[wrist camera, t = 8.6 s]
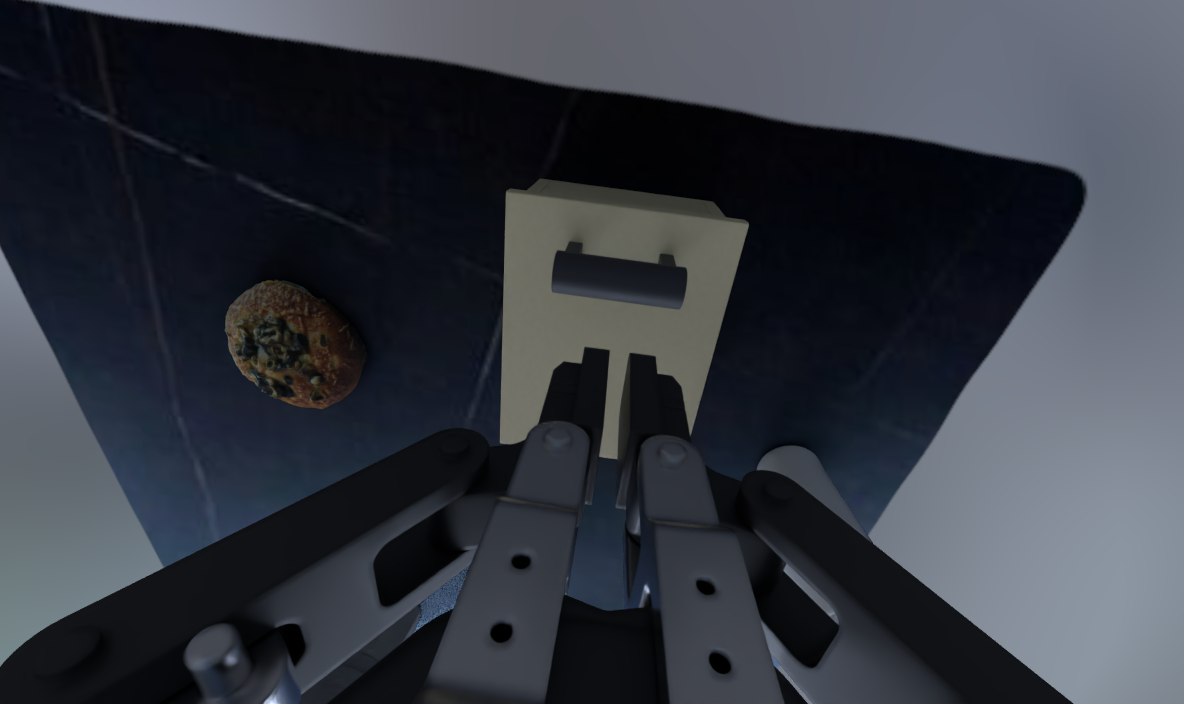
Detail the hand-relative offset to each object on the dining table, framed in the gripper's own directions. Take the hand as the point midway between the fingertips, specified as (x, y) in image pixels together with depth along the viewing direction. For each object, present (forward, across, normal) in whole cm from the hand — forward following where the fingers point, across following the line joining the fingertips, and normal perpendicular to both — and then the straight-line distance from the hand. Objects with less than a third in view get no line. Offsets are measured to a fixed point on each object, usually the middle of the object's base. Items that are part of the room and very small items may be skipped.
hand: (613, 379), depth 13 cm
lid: (+12, 0, +5) cm, 13 cm away
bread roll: (+21, +25, +13) cm, 35 cm away
